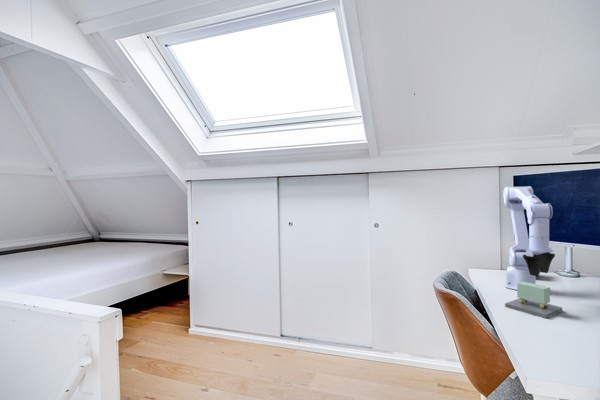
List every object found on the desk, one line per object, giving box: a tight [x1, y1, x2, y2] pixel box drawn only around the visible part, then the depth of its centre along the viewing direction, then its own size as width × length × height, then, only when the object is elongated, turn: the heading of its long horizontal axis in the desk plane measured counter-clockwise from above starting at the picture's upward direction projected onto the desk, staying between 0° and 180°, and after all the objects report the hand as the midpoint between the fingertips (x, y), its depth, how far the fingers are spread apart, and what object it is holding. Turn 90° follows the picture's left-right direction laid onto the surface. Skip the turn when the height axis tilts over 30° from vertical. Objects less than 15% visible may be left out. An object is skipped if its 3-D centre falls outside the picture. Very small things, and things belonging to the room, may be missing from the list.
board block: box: [516, 282, 551, 304], centre depth 106 cm, size 8×4×5 cm, turn 30°
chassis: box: [504, 298, 563, 319], centre depth 106 cm, size 12×12×3 cm
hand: (538, 273), depth 112 cm, fingers open, 7 cm apart
